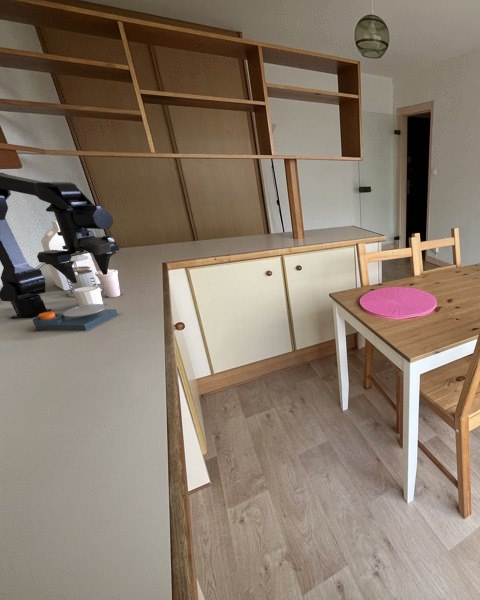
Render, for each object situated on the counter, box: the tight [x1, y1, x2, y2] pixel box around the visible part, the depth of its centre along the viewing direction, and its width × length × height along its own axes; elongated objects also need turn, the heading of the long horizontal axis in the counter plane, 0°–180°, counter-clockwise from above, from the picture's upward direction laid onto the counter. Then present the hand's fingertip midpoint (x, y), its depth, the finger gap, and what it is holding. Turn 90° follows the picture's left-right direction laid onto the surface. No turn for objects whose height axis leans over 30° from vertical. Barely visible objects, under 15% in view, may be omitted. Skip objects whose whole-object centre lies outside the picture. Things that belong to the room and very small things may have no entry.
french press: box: [60, 231, 103, 298], centre depth 119 cm, size 10×12×25 cm
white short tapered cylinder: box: [72, 285, 104, 306], centre depth 108 cm, size 7×7×7 cm
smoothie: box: [95, 269, 121, 298], centre depth 118 cm, size 6×6×14 cm
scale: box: [32, 308, 118, 331], centre depth 98 cm, size 14×13×4 cm
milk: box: [40, 220, 101, 291], centre depth 128 cm, size 12×12×26 cm
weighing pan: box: [62, 303, 107, 317], centre depth 98 cm, size 10×10×1 cm
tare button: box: [37, 311, 56, 320], centre depth 93 cm, size 3×3×2 cm
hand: (90, 278), depth 97 cm, fingers open, 9 cm apart
